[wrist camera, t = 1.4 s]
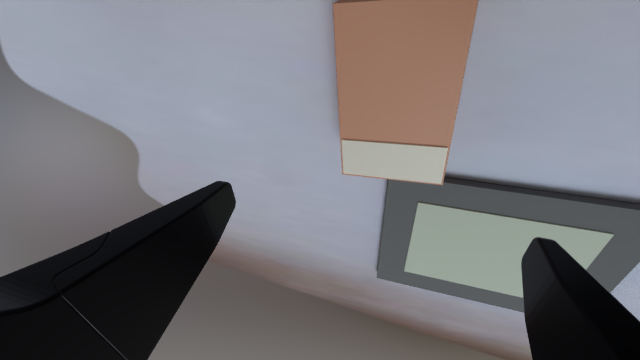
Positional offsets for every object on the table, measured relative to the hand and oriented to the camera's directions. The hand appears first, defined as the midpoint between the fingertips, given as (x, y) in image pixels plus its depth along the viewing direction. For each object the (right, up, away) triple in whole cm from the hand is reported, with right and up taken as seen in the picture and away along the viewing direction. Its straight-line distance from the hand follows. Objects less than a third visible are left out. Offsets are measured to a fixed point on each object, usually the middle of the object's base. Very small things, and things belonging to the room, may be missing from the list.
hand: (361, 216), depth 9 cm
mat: (+12, -4, +14) cm, 18 cm away
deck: (+4, +7, +9) cm, 12 cm away
